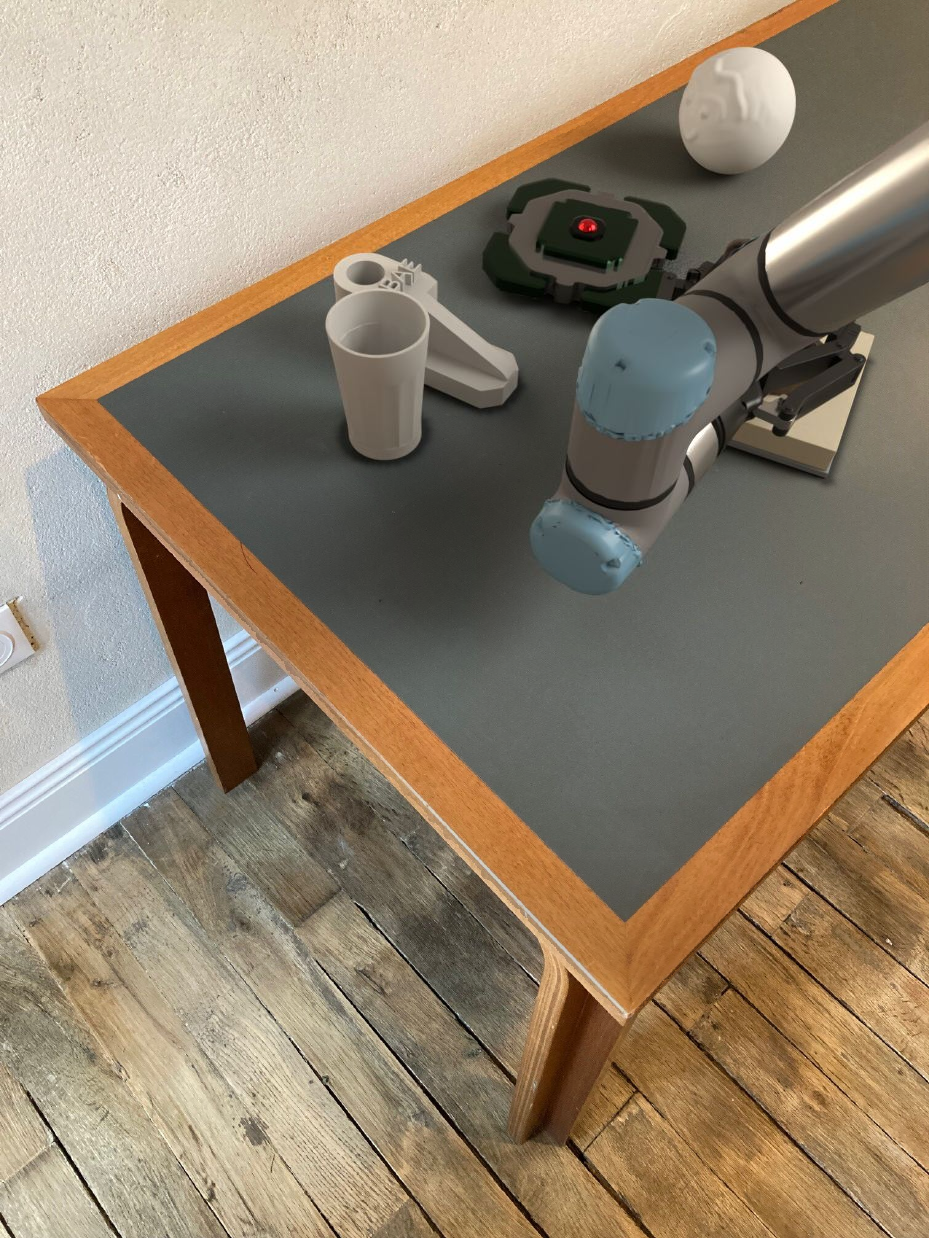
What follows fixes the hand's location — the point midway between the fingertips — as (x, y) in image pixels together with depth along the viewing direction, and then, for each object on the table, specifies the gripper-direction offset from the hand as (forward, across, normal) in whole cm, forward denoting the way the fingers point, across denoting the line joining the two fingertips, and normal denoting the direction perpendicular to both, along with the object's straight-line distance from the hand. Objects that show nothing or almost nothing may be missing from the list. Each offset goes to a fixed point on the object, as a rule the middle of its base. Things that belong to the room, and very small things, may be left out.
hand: (796, 278), depth 81 cm
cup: (-29, -23, -9) cm, 38 cm away
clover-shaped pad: (+2, -21, -9) cm, 23 cm away
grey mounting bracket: (-19, -26, -9) cm, 33 cm away
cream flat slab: (-4, 0, -9) cm, 10 cm away
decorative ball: (+26, -18, -9) cm, 33 cm away
